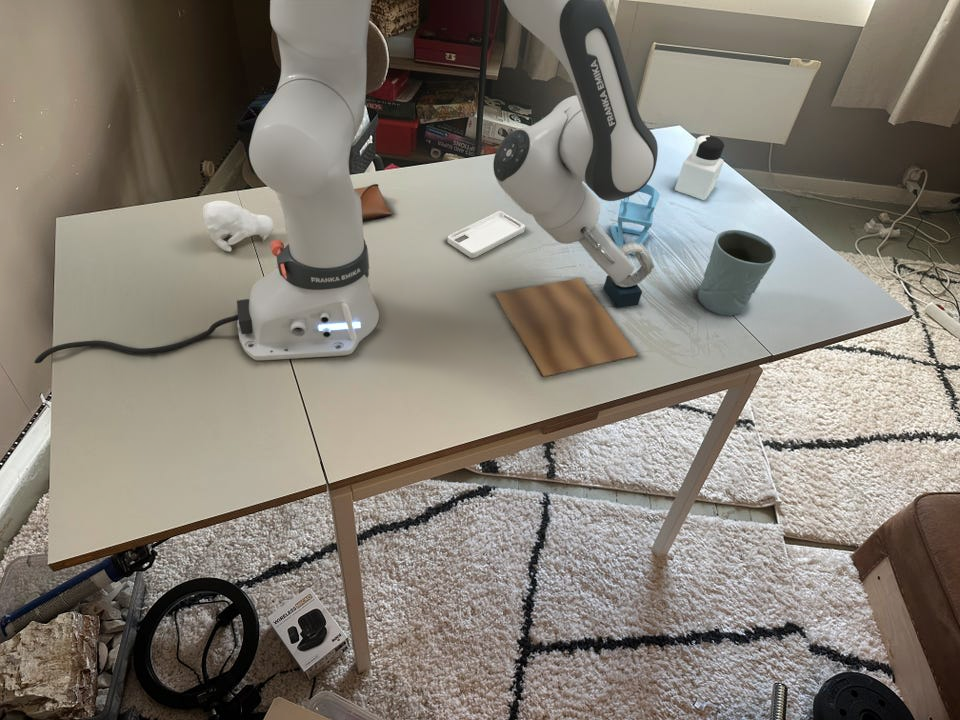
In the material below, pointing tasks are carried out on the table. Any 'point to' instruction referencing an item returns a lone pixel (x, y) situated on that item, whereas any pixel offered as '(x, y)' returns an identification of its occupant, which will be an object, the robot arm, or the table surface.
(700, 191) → the medicine bottle
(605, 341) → the wooden board
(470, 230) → the phone case
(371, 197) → the sunglasses case
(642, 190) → the chair
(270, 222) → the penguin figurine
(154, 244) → the table surface
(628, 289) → the watch
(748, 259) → the grey-green cylindrical cup
